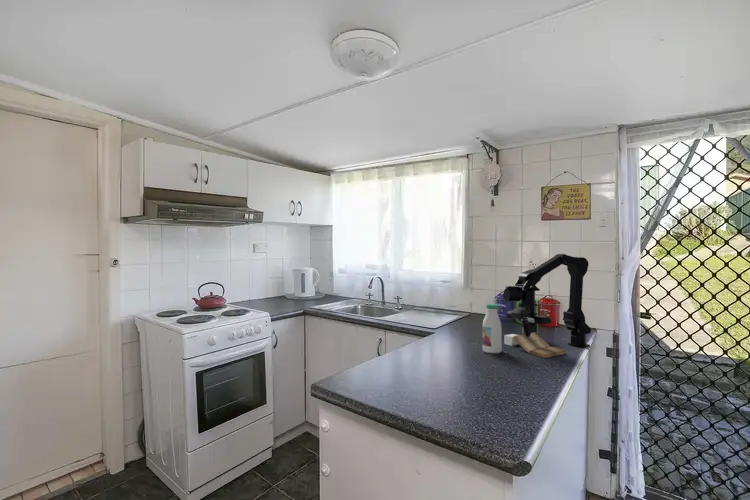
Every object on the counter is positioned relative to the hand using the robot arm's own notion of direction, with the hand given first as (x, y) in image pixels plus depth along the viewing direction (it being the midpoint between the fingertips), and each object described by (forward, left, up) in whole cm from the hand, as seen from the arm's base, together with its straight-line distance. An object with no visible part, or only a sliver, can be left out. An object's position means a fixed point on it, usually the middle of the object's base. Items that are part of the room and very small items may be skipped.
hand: (527, 336), depth 155 cm
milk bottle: (+18, -4, -5) cm, 19 cm away
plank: (0, +2, -3) cm, 3 cm away
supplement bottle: (-11, -8, -5) cm, 15 cm away
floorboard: (0, +10, -5) cm, 11 cm away
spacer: (+1, -8, -5) cm, 10 cm away
